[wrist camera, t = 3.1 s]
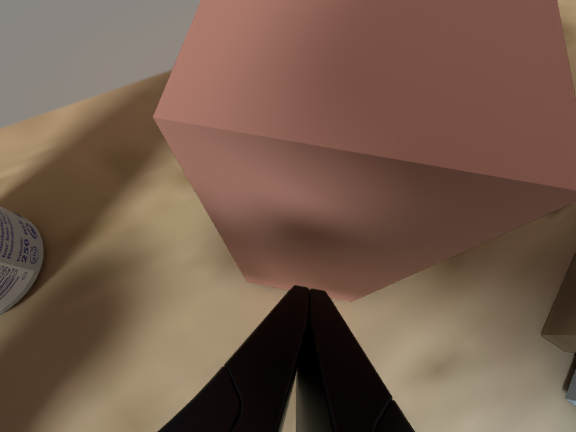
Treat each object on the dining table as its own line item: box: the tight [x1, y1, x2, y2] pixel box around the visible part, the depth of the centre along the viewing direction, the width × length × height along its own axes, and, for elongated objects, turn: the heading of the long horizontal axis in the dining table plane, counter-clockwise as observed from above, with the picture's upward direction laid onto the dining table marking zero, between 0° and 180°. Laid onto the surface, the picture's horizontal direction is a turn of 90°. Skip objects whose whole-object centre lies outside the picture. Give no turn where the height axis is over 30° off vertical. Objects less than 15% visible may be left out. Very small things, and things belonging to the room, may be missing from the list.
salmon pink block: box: [153, 0, 576, 302], centre depth 10 cm, size 4×5×12 cm
